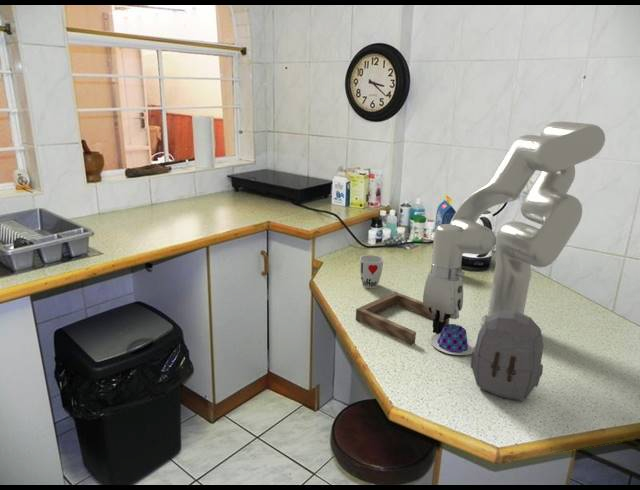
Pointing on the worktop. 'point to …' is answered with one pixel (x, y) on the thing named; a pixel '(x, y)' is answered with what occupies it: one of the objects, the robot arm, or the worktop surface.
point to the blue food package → (444, 213)
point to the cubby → (370, 318)
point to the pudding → (453, 340)
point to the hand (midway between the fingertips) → (438, 331)
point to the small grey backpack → (508, 355)
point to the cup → (370, 270)
